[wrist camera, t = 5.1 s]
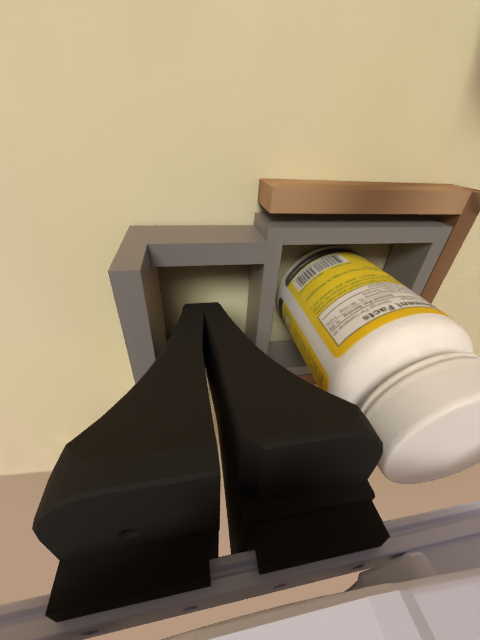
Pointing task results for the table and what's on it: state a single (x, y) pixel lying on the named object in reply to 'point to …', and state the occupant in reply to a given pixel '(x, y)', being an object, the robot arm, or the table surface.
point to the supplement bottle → (387, 361)
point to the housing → (381, 210)
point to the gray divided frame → (255, 268)
